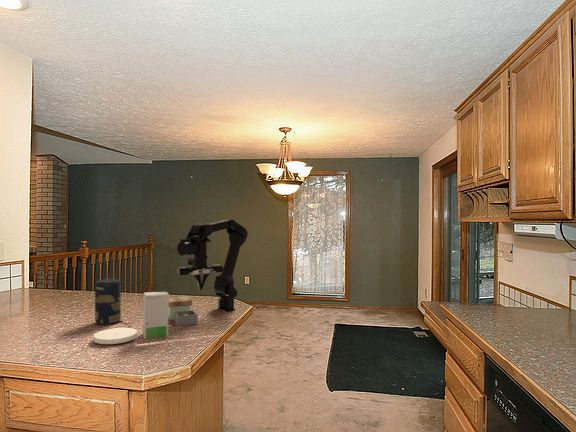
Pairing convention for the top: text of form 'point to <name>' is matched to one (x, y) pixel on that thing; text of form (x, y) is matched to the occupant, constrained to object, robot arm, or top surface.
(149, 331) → the skincare box
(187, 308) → the pale green hollow box
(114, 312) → the canister
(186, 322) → the grey open box
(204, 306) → the top surface
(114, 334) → the plastic lid
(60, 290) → the top surface
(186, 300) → the lid
